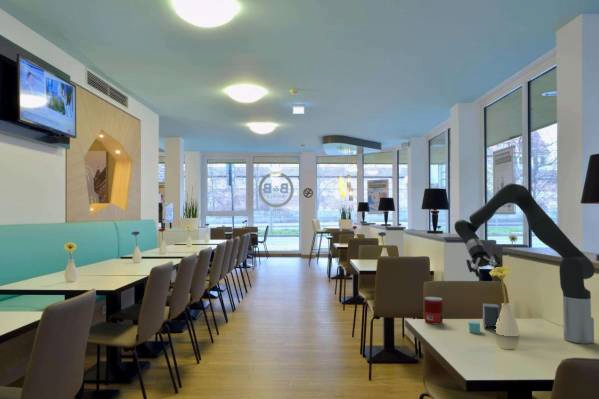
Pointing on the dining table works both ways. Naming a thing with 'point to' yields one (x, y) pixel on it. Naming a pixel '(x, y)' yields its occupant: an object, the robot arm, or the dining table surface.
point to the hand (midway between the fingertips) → (489, 274)
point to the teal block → (474, 327)
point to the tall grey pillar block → (490, 314)
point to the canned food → (433, 309)
